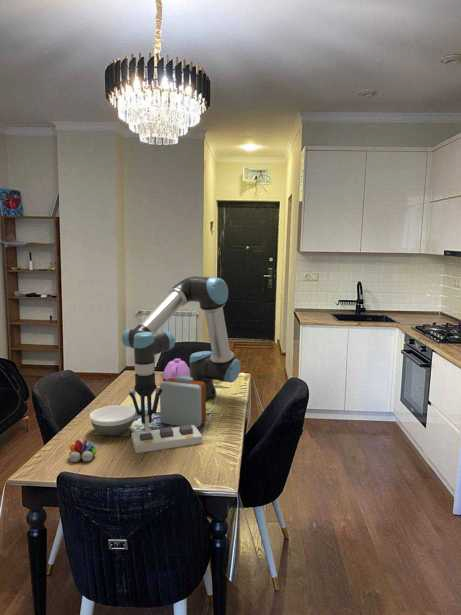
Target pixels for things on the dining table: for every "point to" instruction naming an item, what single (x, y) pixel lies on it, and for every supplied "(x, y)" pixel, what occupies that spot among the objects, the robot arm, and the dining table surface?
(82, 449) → the rainbow disc toy
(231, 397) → the dining table surface
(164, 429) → the button middle
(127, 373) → the dining table surface
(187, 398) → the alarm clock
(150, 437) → the button
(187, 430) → the button
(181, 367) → the pink cap
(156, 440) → the board
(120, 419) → the bowl
